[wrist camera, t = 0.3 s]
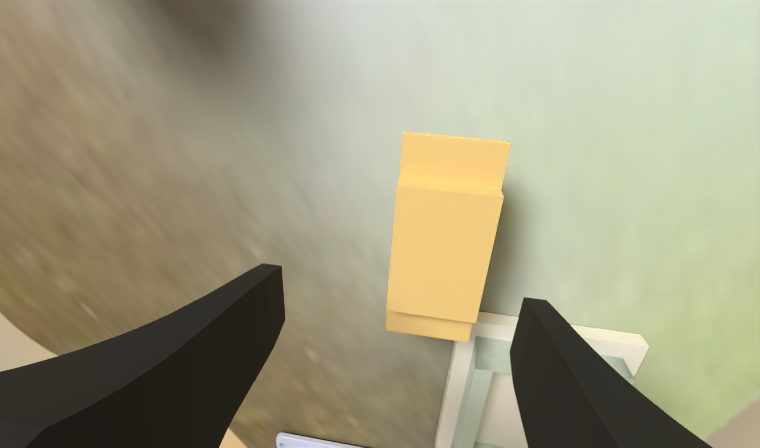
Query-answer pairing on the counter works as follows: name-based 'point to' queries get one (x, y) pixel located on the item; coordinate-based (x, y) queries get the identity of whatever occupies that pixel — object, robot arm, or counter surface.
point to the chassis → (507, 382)
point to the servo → (443, 232)
